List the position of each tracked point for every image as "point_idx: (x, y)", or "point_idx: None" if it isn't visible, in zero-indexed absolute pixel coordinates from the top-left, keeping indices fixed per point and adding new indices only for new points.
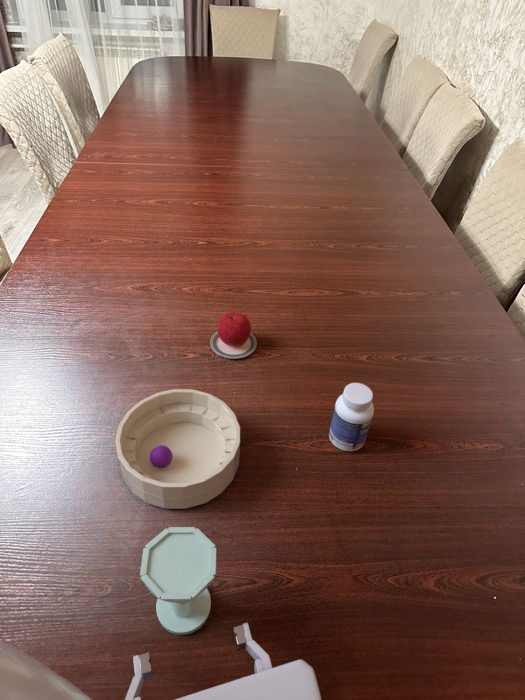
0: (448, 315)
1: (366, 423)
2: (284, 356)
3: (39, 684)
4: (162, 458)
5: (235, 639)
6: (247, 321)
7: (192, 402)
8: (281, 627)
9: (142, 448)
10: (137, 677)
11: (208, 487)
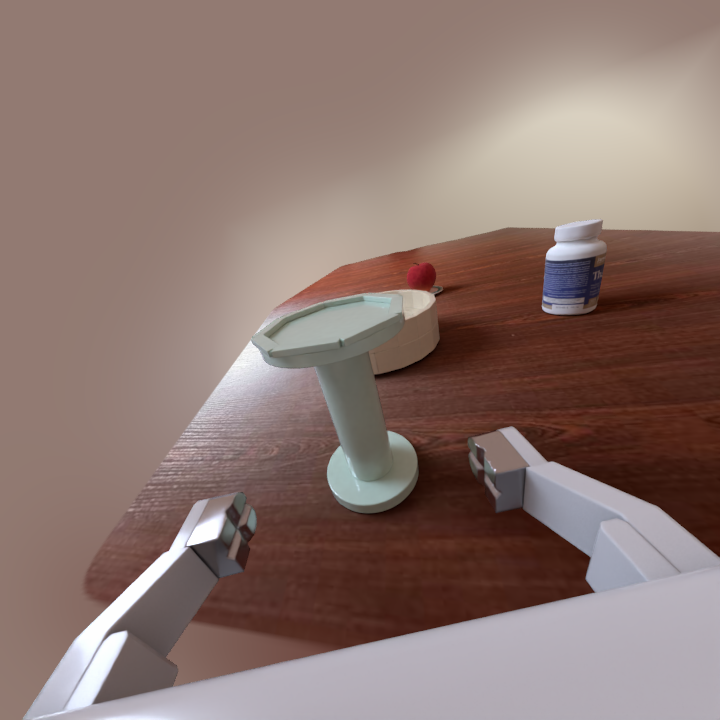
0: (630, 244)
1: (600, 257)
2: (470, 289)
3: None
4: None
5: (482, 481)
6: (431, 265)
7: None
8: None
9: None
10: (171, 555)
11: (402, 339)
